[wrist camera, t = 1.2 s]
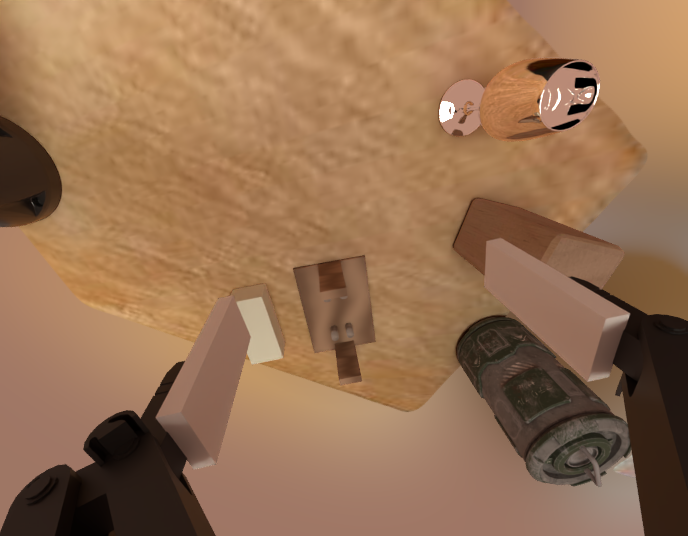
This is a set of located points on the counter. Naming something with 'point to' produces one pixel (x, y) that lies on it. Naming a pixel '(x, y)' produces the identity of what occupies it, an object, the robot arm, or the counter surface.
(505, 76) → the wineglass
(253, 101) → the counter surface
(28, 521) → the robot arm
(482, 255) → the block
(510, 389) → the canister
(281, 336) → the cream rectangular block
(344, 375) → the peg frame
